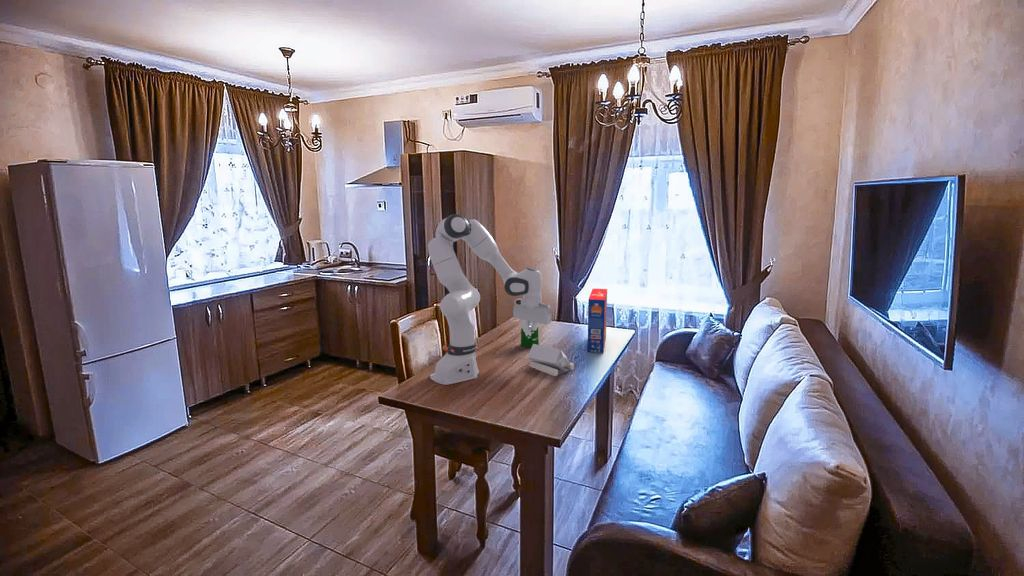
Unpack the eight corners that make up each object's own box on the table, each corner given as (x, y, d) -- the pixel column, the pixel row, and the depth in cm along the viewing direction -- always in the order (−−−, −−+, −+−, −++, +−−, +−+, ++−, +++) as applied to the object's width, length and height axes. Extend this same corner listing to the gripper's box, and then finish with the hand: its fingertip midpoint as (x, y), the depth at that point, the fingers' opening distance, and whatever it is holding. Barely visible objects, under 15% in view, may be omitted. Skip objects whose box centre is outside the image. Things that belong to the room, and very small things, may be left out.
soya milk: (527, 341, 265) (527, 306, 261) (541, 344, 259) (541, 308, 255) (518, 346, 258) (517, 309, 254) (532, 349, 253) (531, 312, 249)
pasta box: (603, 353, 244) (604, 299, 239) (587, 352, 246) (588, 299, 241) (605, 337, 271) (607, 289, 266) (591, 336, 273) (592, 288, 268)
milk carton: (532, 343, 228) (568, 350, 217) (538, 349, 233) (573, 357, 223) (527, 357, 226) (562, 365, 215) (533, 363, 231) (568, 371, 220)
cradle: (554, 376, 215) (554, 370, 215) (530, 366, 227) (530, 361, 226) (574, 368, 224) (574, 363, 223) (549, 360, 235) (549, 355, 235)
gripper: (554, 304, 225) (553, 332, 228) (519, 297, 237) (518, 324, 240) (547, 306, 220) (546, 335, 223) (511, 300, 232) (511, 327, 235)
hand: (531, 329), depth 231 cm, fingers closed
